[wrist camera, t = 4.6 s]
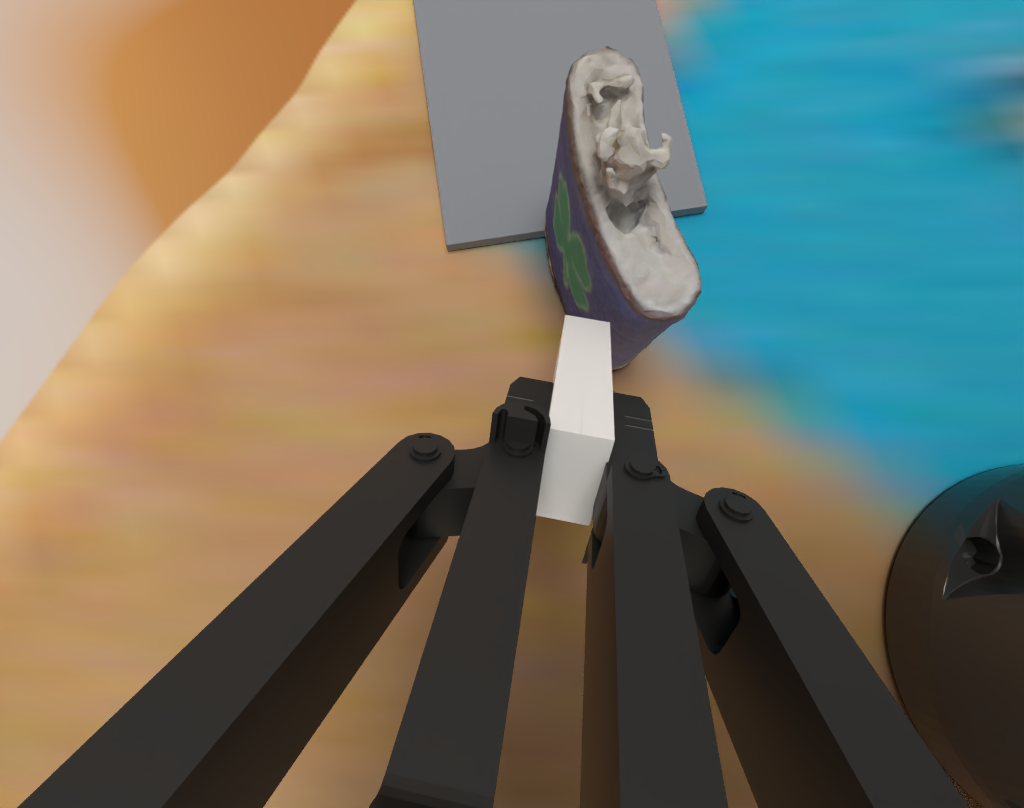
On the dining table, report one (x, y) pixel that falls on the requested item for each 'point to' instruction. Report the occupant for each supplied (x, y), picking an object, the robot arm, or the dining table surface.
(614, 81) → the flask
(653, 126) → the mat
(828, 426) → the dining table surface
